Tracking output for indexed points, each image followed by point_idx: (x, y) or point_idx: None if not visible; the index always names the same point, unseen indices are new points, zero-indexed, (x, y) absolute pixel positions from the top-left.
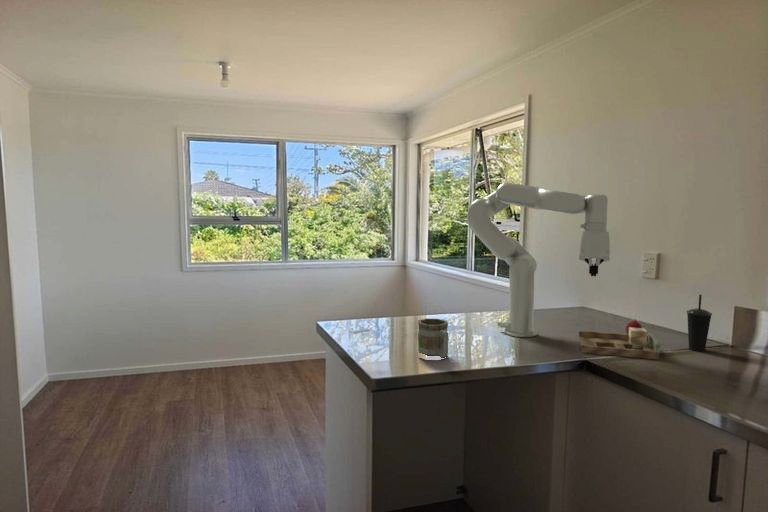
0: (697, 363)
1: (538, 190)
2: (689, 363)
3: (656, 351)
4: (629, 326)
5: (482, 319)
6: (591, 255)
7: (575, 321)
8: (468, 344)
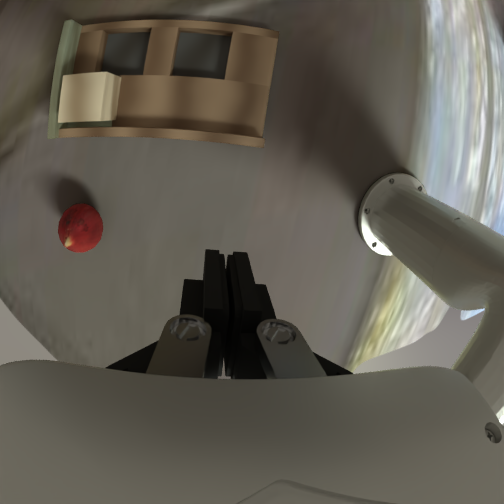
0: (19, 41)
1: None
2: (34, 33)
3: (80, 25)
4: (89, 221)
5: (425, 321)
6: (343, 401)
7: None
8: (489, 114)
